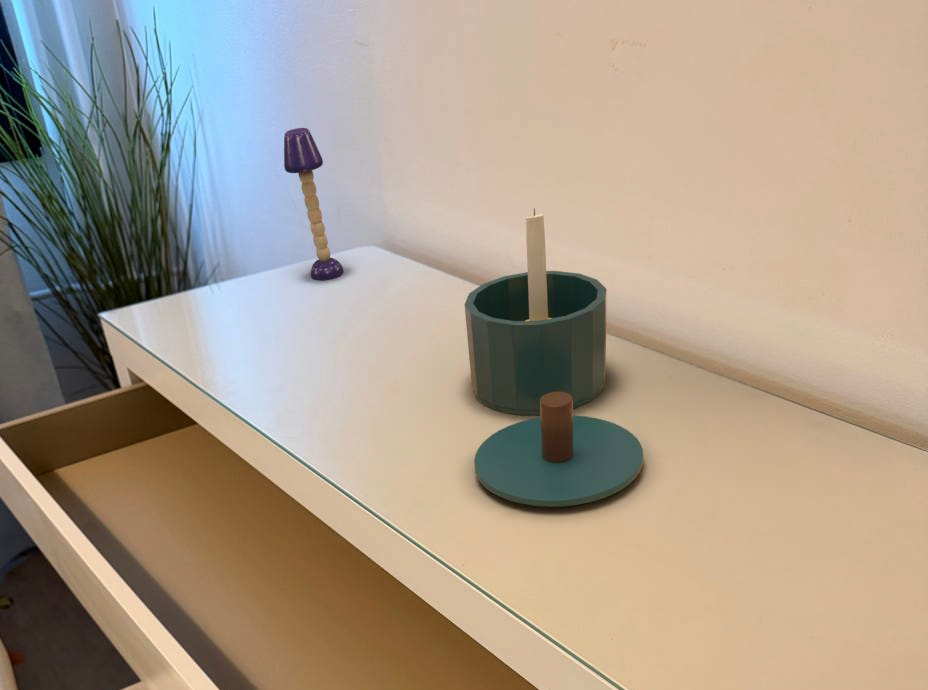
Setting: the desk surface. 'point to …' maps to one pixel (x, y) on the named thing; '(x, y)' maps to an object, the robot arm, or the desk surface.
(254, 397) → the desk surface
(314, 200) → the toy lamp
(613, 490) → the lid
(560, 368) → the tin
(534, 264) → the candle
